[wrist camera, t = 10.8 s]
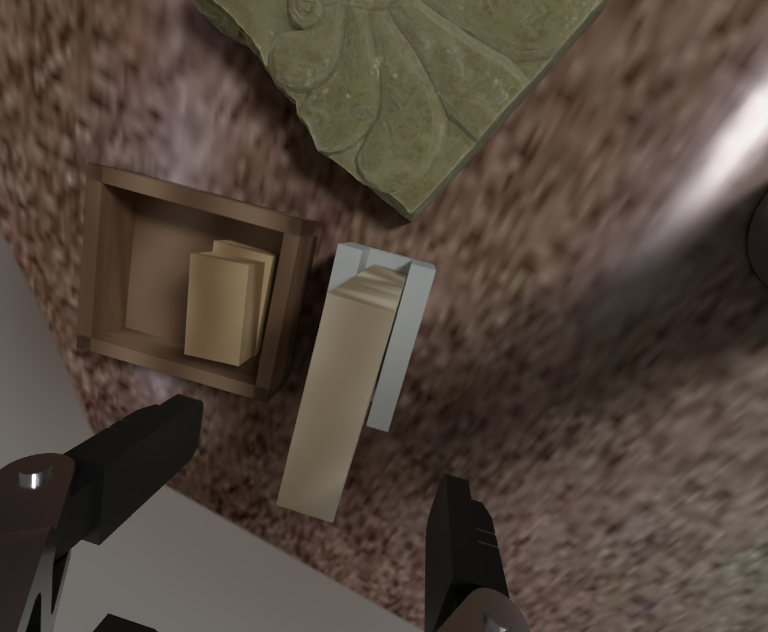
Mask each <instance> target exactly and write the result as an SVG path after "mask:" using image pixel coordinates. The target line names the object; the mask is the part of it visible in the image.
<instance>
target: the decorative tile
mask: <svg viewBox="0 0 768 632" xmlns="http://www.w3.org/2000/svg"><path fill="white" fill-rule="evenodd" d="M611 1H612V0H194V1H193V2H194V5H195V7H196V9H197V10H198V11H199V12H200V13H201V14H202V15H203V16H205V17H206V18H207V19H208V20H209V21H210V22H211V23H212V24H213V25H214V26H215V27H216V28H217V29H218V30H219V31H220V32H221V33H223V34H224V35H225V36H226V37H230V38H231V39H233V40H234V41H236V42H238V43H239V44H241V45H243V46H246V47H249V48H250V49H251V51H252V52H253V53H254V54H255V55H257V56H258V58H259V59H260V61H261V62H262V64H263V65H264V67H265V70H266V71H267V72H268V73H269V74H270V75H271V77H272V79H273V82H274V84H275V86H276V87H277V89H278V90H280V91H281V92H283V93H284V95H285V96H286V97H287V98H288V99H289V100H290V101H291V102H292V103H293V104H295V105H296V108H297V115H298V117H299V119H300V120H301V121H302V122H303V123H304V125H305V126H306V128H307V129H308V131H309V132H310V134H311V136H312V139H313V141H314V144H315V147H316V148H317V150H318V151H319V152H320V153H321V154H323V155H324V156H326V157H328V158H331V159H332V160H334V161H335V162H336V163H337V164H339V165H340V166H341V167H342V168H344V169H345V170H347V171H348V172H349V173H350V174H351V175H353V176H354V177H355V178H356V180H358V181H359V182H360V183H362V184H363V185H366V186H368V187H369V188H370V189H371V190H373V191H374V192H375V194H377V195H378V196H379V197H380V198H381V199H382V200H383V201H385V202H386V203H388V204H389V205H391V207H393V208H394V209H396V210H397V212H398V213H399V214H400V215H402V216H404V217H405V218H406V219H408V220H409V221H411V222H413V221H414V220H416V219H417V217H418V216H419V215H420V214H421V213H422V212H423V211H424V210H425V209H426V208H427V207H428V206H429V205H430V203H431V202H432V201H433V200H434V199H435V198H436V197H437V196H438V195H439V194H440V193H441V192H442V191H443V189H444V188H445V187H446V186H447V185H448V184H449V183H450V182H451V181H452V180H453V179H454V177H455V176H456V175H457V174H458V173H459V172H460V171H461V170H462V169H463V168H464V167H465V165H466V164H467V163H468V162H469V161H470V160H471V159H472V158H473V157H474V156H475V154H476V153H477V152H478V151H479V150H480V149H481V148H482V147H483V146H484V145H485V144H486V142H487V141H488V140H489V139H490V138H491V137H492V136H493V135H494V133H495V132H496V131H497V130H498V129H499V128H500V127H501V125H502V124H503V123H504V122H505V121H506V120H507V119H508V117H509V116H510V115H511V114H512V113H513V112H514V111H515V109H516V108H517V107H518V106H519V105H520V104H521V103H522V102H523V100H524V99H525V98H526V97H527V96H528V95H529V94H530V93H531V91H532V90H533V89H534V88H535V87H536V86H537V85H538V84H539V83H540V81H541V80H542V79H543V78H544V77H545V76H546V75H547V74H548V73H549V71H550V70H551V69H552V68H553V67H554V66H555V65H556V64H557V62H558V61H559V60H560V59H561V58H562V57H563V55H564V54H565V53H566V52H567V51H568V50H569V48H570V47H571V46H572V45H573V44H574V43H575V42H576V40H577V39H578V38H579V37H580V36H581V35H582V34H583V32H584V31H585V30H586V29H587V28H588V27H589V26H590V24H591V23H592V22H593V21H594V20H595V19H596V18H597V17H598V16H599V14H600V13H601V12H602V11H603V10H604V9H605V8H606V6H607V5H608V4H609V3H610V2H611Z"/></svg>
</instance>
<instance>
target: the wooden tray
mask: <svg viewBox="0 0 768 632" xmlns="http://www.w3.org/2000/svg"><path fill="white" fill-rule="evenodd" d="M320 224H321V222H317V221H313V220H310V219H306V218H302V217H298V216H295V215H291V214H287V213H284V212H280V211H276V210H273V209H269V208H265V207H262V206H258V205H254V204H251V203H247V202H243V201H239V200H236V199H232V198H228V197H225V196H221V195H217V194H214V193H210V192H206V191H203V190H199V189H195V188H192V187H188V186H184V185H181V184H177V183H173V182H169V181H166V180H162V179H158V178H155V177H151V176H147V175H144V174H140V173H136V172H132V171H127V170H122V169H118V168H113V167H109V166H104V165H99V164H95V163H90V162H88V166H87V183H86V199H85V216H84V233H83V250H82V266H81V283H80V300H79V317H78V334H77V347H78V348H81V349H85V350H88V351H91V352H95V353H98V354H102V355H105V356H109V357H112V358H115V359H119V360H122V361H126V362H129V363H132V364H136V365H139V366H143V367H146V368H149V369H153V370H156V371H160V372H163V373H167V374H170V375H173V376H177V377H180V378H184V379H187V380H190V381H194V382H197V383H201V384H204V385H208V386H211V387H214V388H218V389H221V390H225V391H228V392H231V393H235V394H238V395H242V396H245V397H248V398H252V399H255V400H259V401H262V402H266V403H267V402H268V401H269V400H270V399H271V397H272V396H273V395H274V394H275V393H276V392H277V391H278V390H279V389H280V388H281V387H282V385H283V384H284V383H285V382H286V381H287V380H288V375H289V370H290V365H291V361H292V356H293V351H294V347H295V342H296V337H297V332H298V328H299V323H300V318H301V314H302V309H303V304H304V300H305V295H306V290H307V285H308V281H309V276H310V271H311V267H312V262H313V257H314V252H315V248H316V243H317V238H318V234H319V229H320ZM216 240H234V241H237V242H241V243H245V244H248V245H252V246H255V247H259V248H263V249H266V250H270V251H274V252H277V253H280V258H279V263H278V268H277V274H276V279H275V284H274V289H273V295H272V300H271V305H270V310H269V316H268V321H267V326H266V332H265V337H264V342H263V347H262V351H261V352H259V353H258V354H257V355H255V356H252V357H251V358H249V359H248V360H247V361H245V362H244V363H242V364H241V365H240V366H236V365H231V364H227V363H222V362H218V361H213V360H209V359H204V358H199V357H195V356H190V355H186V354H184V350H185V334H186V318H187V302H188V286H189V270H190V254H191V253H201V252H212V251H213V244H214V241H216Z"/></svg>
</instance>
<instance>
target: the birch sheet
mask: <svg viewBox="0 0 768 632" xmlns="http://www.w3.org/2000/svg"><path fill="white" fill-rule="evenodd" d="M407 275H408V273H404V272H401V271H398V270H394V269H391V268H387V267H384V266H380V265H377V264H373V265H372V266H370V267H369V268H367V269H365V270H364V271H362V272H361V273H359V274H357V275H356V276H354V277H353V278H351V279H349V280H348V281H346V282H345V283H343V284H341V285H340V286H338V287H337V288H335V289H333V290H332V291H330V292H329V293H327V297H326V301H325V305H324V309H323V313H322V317H321V321H320V326H319V330H318V334H317V338H316V342H315V346H314V350H313V354H312V359H311V363H310V367H309V371H308V375H307V379H306V383H305V388H304V392H303V396H302V400H301V404H300V408H299V412H298V416H297V421H296V425H295V429H294V433H293V437H292V441H291V445H290V450H289V454H288V458H287V462H286V466H285V470H284V474H283V479H282V483H281V487H280V491H279V495H278V499H277V503H276V505H278V506H281V507H284V508H287V509H290V510H293V511H296V512H300V513H303V514H306V515H309V516H312V517H315V518H319V519H322V520H325V521H328V522H331V523H333V521H334V518H335V514H336V511H337V508H338V505H339V501H340V498H341V495H342V492H343V488H344V485H345V482H346V479H347V475H348V472H349V469H350V465H351V462H352V459H353V456H354V452H355V449H356V446H357V443H358V439H359V436H360V433H361V430H362V426H363V423H364V420H365V417H366V413H367V410H368V407H369V404H370V400H371V397H372V394H373V391H374V387H375V384H376V380H377V377H378V374H379V370H380V367H381V363H382V360H383V357H384V353H385V350H386V346H387V343H388V339H389V336H390V333H391V329H392V326H393V322H394V319H395V316H396V312H397V309H398V305H399V302H400V298H401V295H402V292H403V288H404V285H405V281H406V278H407Z"/></svg>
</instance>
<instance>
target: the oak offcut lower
mask: <svg viewBox="0 0 768 632" xmlns="http://www.w3.org/2000/svg"><path fill="white" fill-rule="evenodd" d="M212 252H217V253H222V254H227V255H231V256H236V257H241V258H246V259H251V260H256V261H261V262H265V268H264V277H263V286H262V295H261V304H260V313H259V322H258V331H257V340H256V349H255V355H257V354H258V353H259V352H261V351H262V347H263V342H264V337H265V332H266V326H267V321H268V316H269V310H270V305H271V300H272V295H273V289H274V284H275V279H276V274H277V268H278V263H279V258H280V253H277V252H274V251H270V250H266V249H263V248H259V247H255V246H252V245H248V244H245V243H241V242H237V241H234V240H216V241H214V244H213V251H212ZM255 355H253V356H255Z"/></svg>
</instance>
